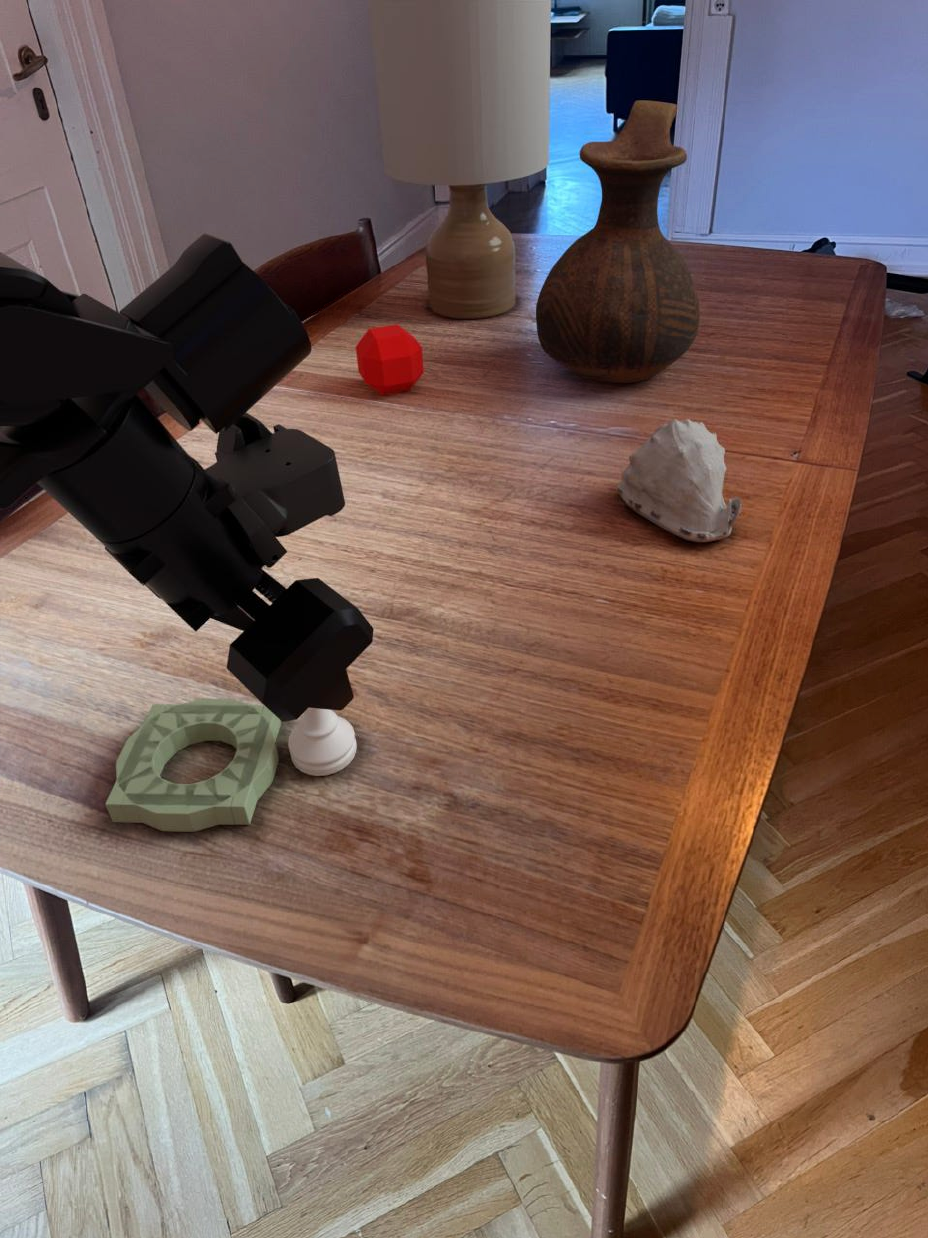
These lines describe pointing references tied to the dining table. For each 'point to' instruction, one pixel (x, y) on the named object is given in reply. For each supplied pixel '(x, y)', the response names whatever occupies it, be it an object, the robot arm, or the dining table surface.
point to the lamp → (464, 128)
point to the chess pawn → (322, 742)
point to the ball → (389, 359)
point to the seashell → (681, 482)
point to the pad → (209, 800)
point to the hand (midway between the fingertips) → (302, 664)
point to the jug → (623, 265)
